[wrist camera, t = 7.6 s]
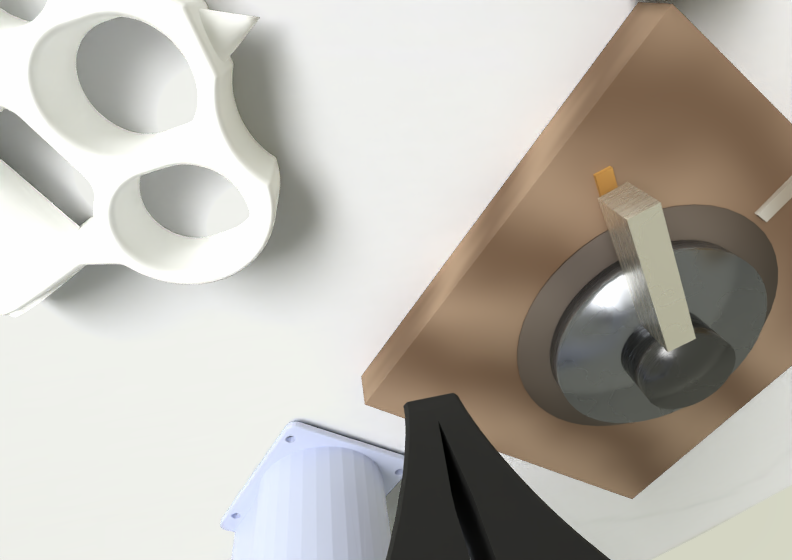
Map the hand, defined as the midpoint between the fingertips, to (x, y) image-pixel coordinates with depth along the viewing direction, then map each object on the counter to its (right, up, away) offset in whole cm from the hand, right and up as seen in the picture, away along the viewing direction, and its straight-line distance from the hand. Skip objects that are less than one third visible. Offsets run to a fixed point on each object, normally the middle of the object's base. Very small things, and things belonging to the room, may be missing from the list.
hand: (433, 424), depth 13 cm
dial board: (+11, +2, +13) cm, 17 cm away
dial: (+10, +3, +10) cm, 14 cm away
